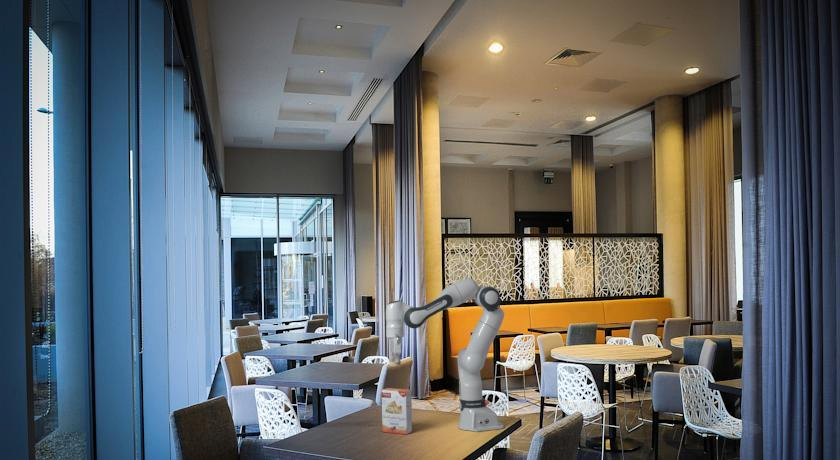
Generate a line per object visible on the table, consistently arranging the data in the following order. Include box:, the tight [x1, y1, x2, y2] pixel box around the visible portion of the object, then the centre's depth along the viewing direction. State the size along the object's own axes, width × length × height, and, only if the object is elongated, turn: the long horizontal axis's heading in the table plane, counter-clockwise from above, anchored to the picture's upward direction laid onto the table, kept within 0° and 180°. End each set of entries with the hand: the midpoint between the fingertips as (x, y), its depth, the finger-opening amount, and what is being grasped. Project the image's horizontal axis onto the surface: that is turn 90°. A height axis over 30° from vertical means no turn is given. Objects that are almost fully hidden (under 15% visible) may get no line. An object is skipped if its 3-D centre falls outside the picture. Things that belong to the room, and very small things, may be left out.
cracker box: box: [381, 387, 413, 435], centre depth 310 cm, size 14×6×21 cm, turn 62°
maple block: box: [389, 354, 402, 367], centre depth 312 cm, size 4×4×5 cm
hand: (395, 361), depth 312 cm, fingers closed on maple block, 4 cm apart
